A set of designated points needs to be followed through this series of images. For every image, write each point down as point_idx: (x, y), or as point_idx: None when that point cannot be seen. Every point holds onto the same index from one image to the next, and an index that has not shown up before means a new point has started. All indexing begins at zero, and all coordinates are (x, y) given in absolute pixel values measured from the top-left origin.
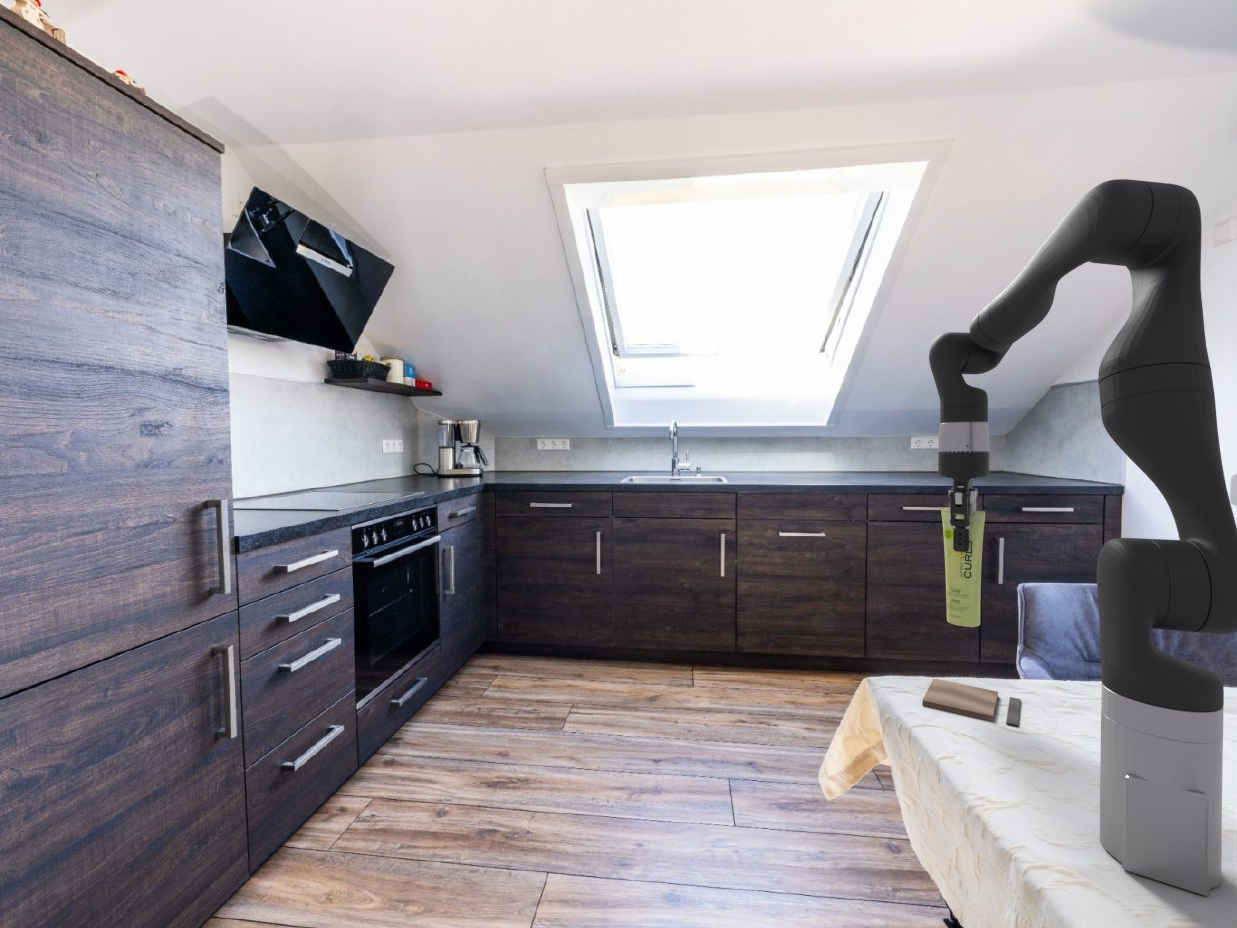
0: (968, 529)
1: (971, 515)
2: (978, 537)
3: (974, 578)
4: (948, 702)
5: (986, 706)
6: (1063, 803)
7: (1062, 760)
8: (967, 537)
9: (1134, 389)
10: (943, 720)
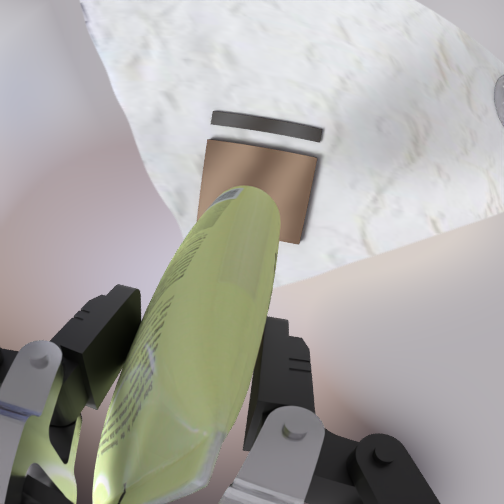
0: (304, 411)
1: (263, 496)
2: (262, 317)
3: (271, 238)
4: (290, 211)
5: (282, 161)
6: (478, 139)
7: (398, 104)
8: (285, 371)
9: None
10: (341, 219)
